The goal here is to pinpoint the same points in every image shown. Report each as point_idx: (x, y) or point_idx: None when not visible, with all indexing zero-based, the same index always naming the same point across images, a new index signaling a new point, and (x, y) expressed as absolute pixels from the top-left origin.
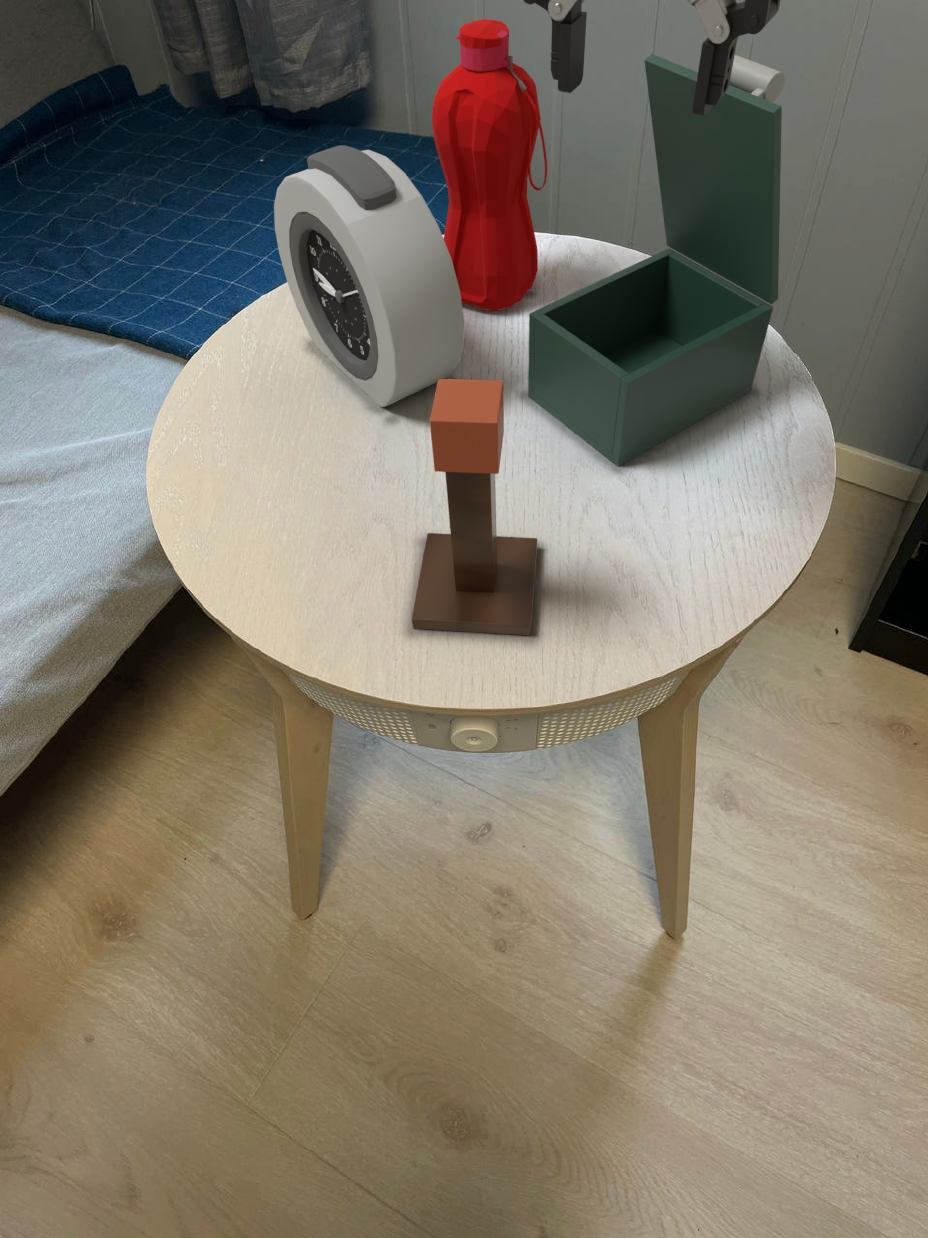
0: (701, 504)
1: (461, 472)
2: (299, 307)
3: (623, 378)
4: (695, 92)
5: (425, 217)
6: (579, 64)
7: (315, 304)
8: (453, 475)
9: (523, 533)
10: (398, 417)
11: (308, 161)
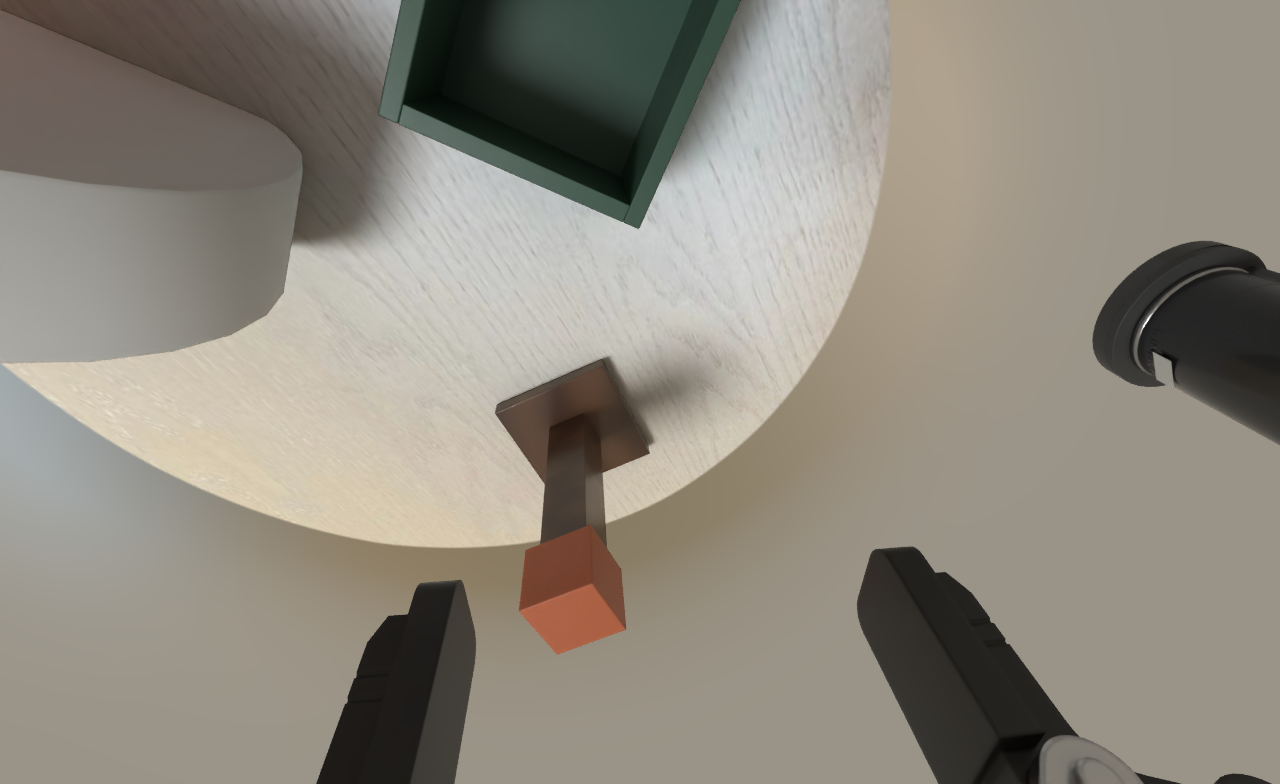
0: (747, 207)
1: None
2: None
3: (627, 223)
4: (882, 666)
5: (48, 200)
6: (453, 648)
7: None
8: None
9: (577, 347)
10: (297, 247)
11: None
